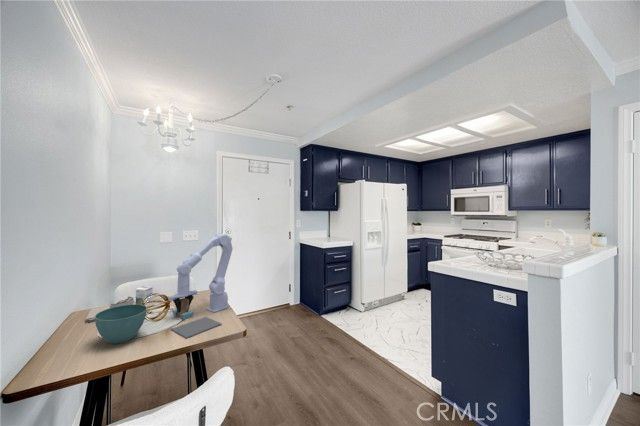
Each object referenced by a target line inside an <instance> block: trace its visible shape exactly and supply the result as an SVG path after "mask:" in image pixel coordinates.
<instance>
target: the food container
mask: <svg viewBox="0 0 640 426" xmlns="http://www.w3.org/2000/svg"><path fill="white" fill-rule="evenodd" d="M133 304H135V299H134V297H132V296H127V298H126V299H123V300H120V301H118V302H116V303H110V305H109V306H110V308H113V307H117V306H123V305H133Z"/></svg>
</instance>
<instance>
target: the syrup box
mask: <svg viewBox="0 0 640 426" xmlns="http://www.w3.org/2000/svg"><path fill="white" fill-rule="evenodd" d="M153 291H154V289H153V286H149V285H142V286H139V287H137V288H135V304H137V305H141V302H142V301H143V299H145V298H146V297H147V296H149V295H152V294H153V293H154V292H153ZM149 300H152V301H153V295H152V297H150V298H147V300H146V301H149Z"/></svg>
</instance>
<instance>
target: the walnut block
mask: <svg viewBox="0 0 640 426" xmlns="http://www.w3.org/2000/svg"><path fill="white" fill-rule="evenodd" d="M180 300H182V302H181V311H180V312H177V316H176V317H178V318H180V317H181V314H182V313H185V312H189V311H190V307H189V299H187V298H185V297H183V298H180Z"/></svg>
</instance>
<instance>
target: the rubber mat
mask: <svg viewBox="0 0 640 426" xmlns="http://www.w3.org/2000/svg"><path fill="white" fill-rule="evenodd" d="M220 326H222V322H219V321H216V320H214V319H212V318H209V317H207V316H205V317H202V318H198V319H196V320H193V321H189V322H187V323H184V324H181V325H178V326H175V327H172V328H170V331H172V332H174V333H175V334H177V335H179V336H181V337H183V338H184V339H190V338H191V337H194V336H196V335H200V334H201V333H204V332H207V331H210V330H212V329H214V328H217V327H220Z"/></svg>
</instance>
